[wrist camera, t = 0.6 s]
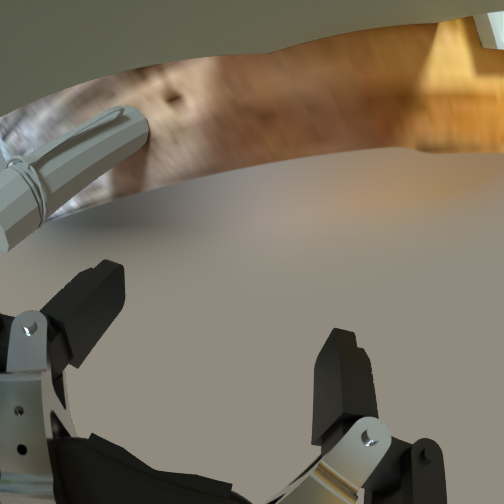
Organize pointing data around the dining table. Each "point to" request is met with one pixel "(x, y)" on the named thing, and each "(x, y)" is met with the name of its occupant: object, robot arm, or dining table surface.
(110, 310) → the robot arm
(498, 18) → the tray
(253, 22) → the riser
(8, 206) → the water bottle
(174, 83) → the dining table surface
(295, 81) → the dining table surface
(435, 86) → the dining table surface
